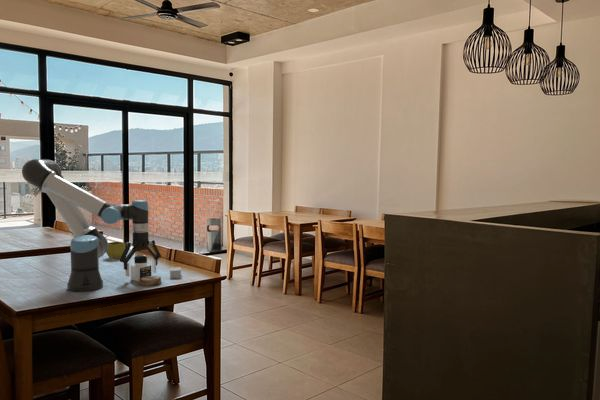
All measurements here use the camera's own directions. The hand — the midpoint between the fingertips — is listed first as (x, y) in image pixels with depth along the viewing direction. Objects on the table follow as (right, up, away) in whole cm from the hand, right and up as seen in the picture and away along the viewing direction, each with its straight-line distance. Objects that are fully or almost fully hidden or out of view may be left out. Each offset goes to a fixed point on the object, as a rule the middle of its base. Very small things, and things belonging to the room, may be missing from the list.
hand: (141, 274), depth 237 cm
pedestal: (+7, -3, -7) cm, 11 cm away
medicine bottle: (0, -3, 0) cm, 3 cm away
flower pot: (-33, +2, +52) cm, 62 cm away
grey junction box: (+15, -3, +8) cm, 17 cm away
